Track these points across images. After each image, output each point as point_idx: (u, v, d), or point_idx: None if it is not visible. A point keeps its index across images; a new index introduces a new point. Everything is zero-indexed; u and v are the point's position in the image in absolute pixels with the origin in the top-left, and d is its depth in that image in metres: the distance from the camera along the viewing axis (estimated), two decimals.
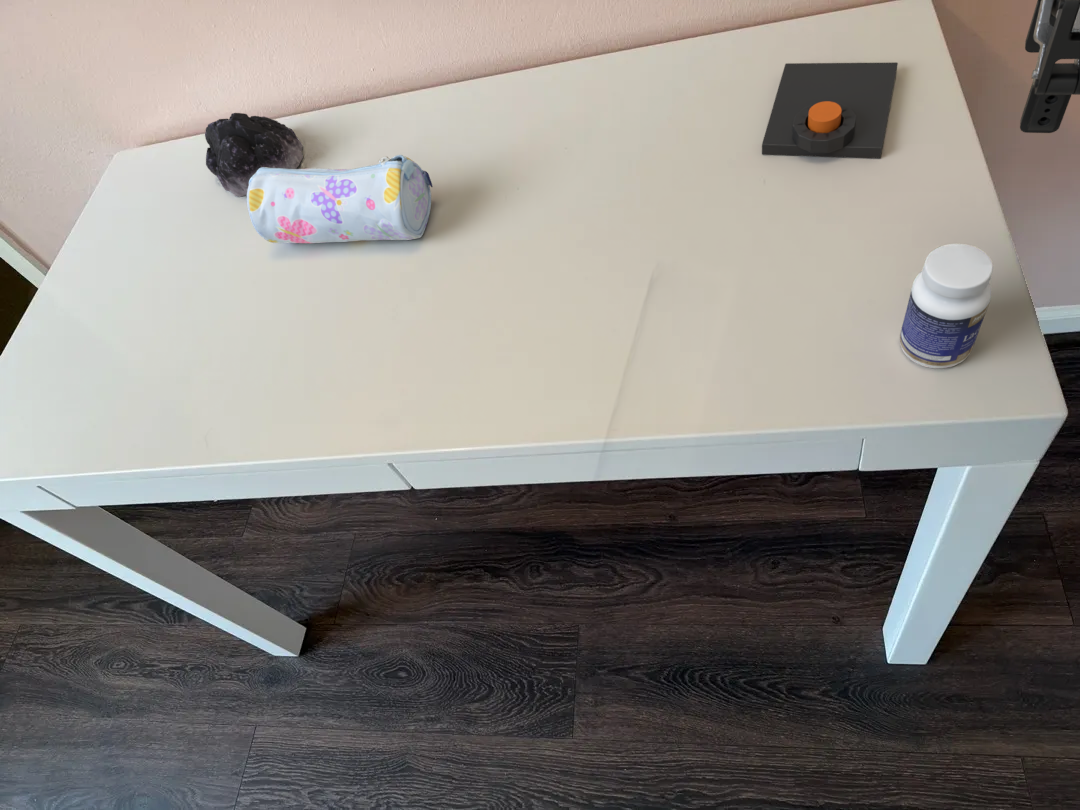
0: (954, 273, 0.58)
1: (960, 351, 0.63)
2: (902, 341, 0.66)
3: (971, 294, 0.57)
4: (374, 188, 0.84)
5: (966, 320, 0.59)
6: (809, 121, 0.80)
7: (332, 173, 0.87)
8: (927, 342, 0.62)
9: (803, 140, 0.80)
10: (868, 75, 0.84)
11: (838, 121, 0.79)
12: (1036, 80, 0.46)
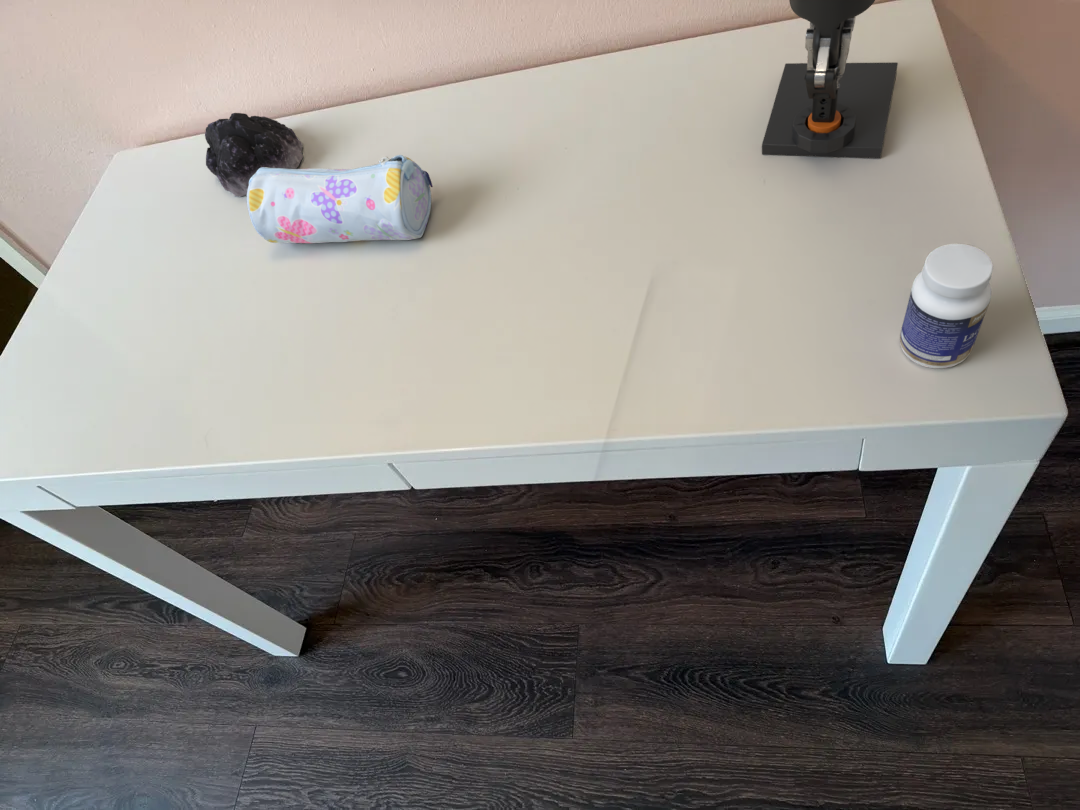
0: (954, 273, 0.58)
1: (960, 351, 0.63)
2: (902, 341, 0.66)
3: (971, 294, 0.57)
4: (374, 188, 0.84)
5: (966, 320, 0.59)
6: (809, 127, 0.80)
7: (332, 173, 0.87)
8: (927, 342, 0.62)
9: (803, 140, 0.80)
10: (868, 75, 0.84)
11: (837, 128, 0.79)
12: None
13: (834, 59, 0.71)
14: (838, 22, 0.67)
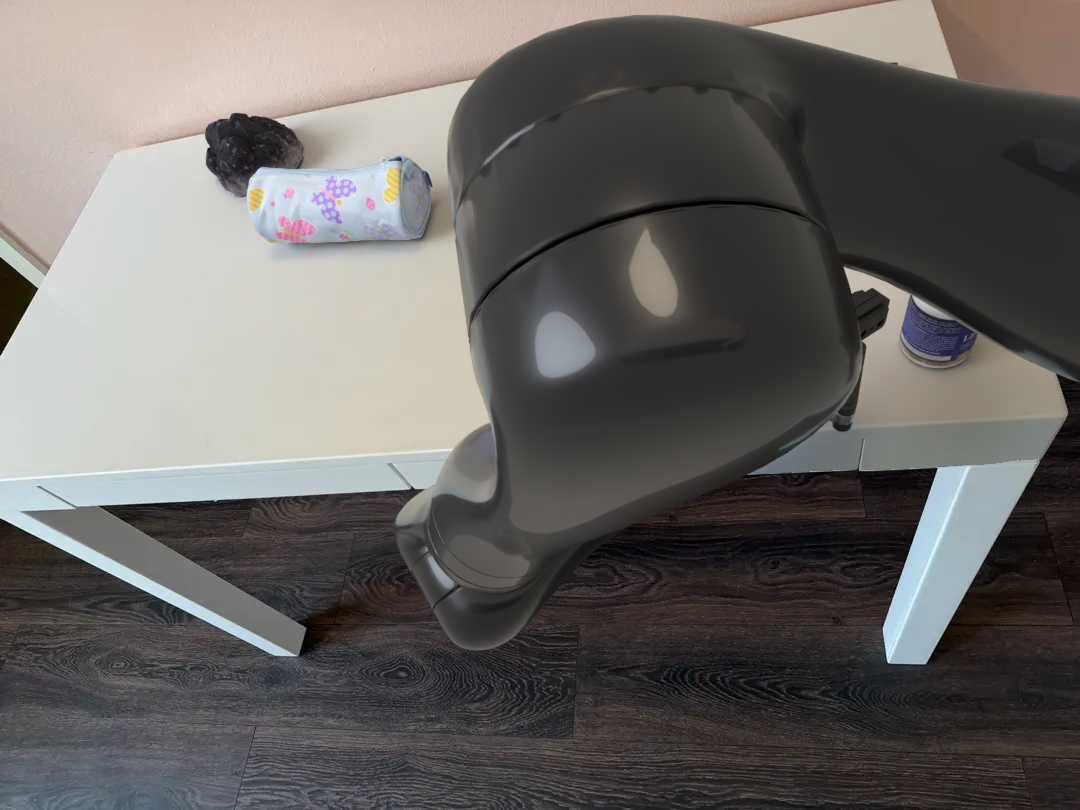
0: None
1: (960, 351, 0.63)
2: (902, 341, 0.66)
3: None
4: (374, 188, 0.84)
5: None
6: None
7: (332, 173, 0.87)
8: (927, 342, 0.62)
9: None
10: None
11: None
12: None
13: None
14: None
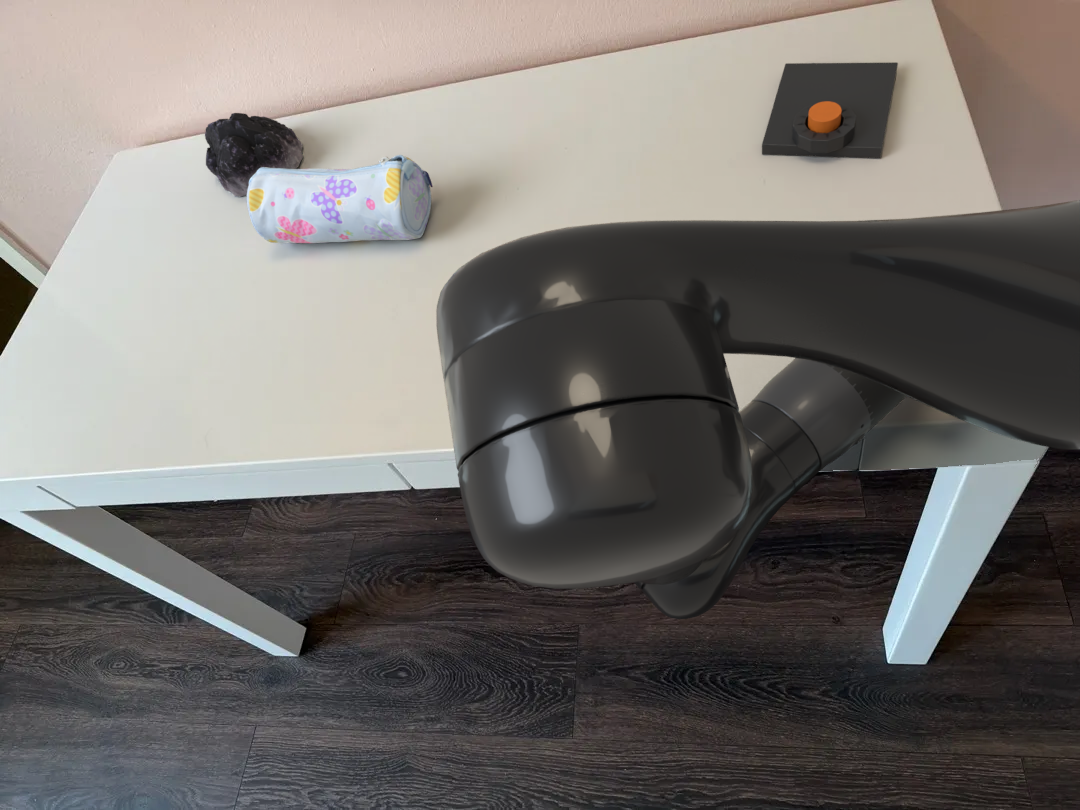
0: None
1: None
2: None
3: None
4: (374, 188, 0.84)
5: None
6: (809, 121, 0.80)
7: (332, 173, 0.87)
8: None
9: (803, 140, 0.80)
10: (868, 75, 0.84)
11: (838, 121, 0.79)
12: None
13: None
14: None
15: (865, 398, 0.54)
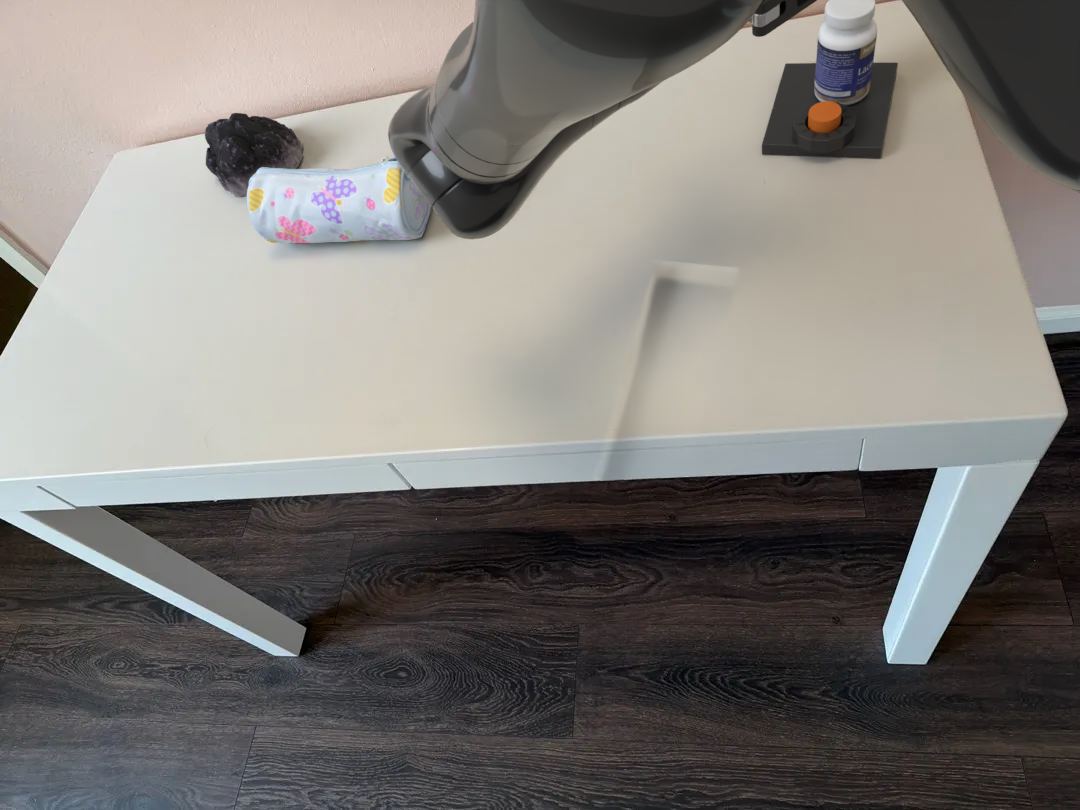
0: (846, 10, 0.76)
1: (857, 85, 0.80)
2: (815, 88, 0.83)
3: (858, 24, 0.75)
4: (374, 188, 0.84)
5: (857, 51, 0.77)
6: (809, 121, 0.80)
7: (332, 173, 0.87)
8: (831, 78, 0.80)
9: (803, 140, 0.80)
10: None
11: (838, 121, 0.79)
12: None
13: None
14: None
15: None
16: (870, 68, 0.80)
